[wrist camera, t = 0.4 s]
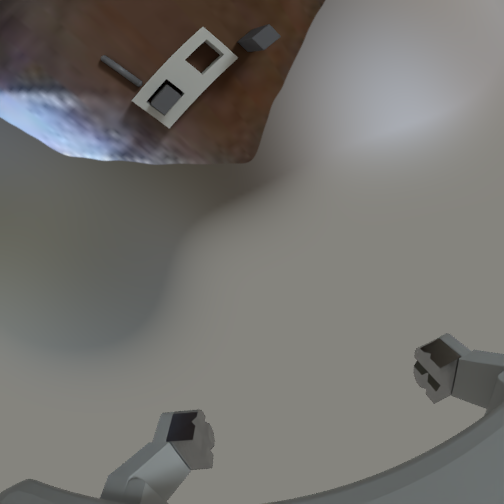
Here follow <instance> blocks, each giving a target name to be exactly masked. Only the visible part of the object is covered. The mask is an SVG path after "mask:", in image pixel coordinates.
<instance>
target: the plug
mask: <svg viewBox="0 0 504 504" xmlns="http://www.w3.org/2000/svg"><path fill="white" fill-rule="evenodd" d="M279 37H281V36H280V35H279V34H278V33H277V32H276V31H275V30H274V29H273V28H272V27H271V26H270V25H269V24H268V25H265V26H262V27H259V28H256V29H252V30H251V31H250V32H248V33H247V34H246V35H245V36H244V37H243V38H241V39H240V40H239V41H238V43H239V44H240V45H241V46H242V47H243V48H244V49H245V50H246V51H247V52H252V51H261V50H265V49H266V48H267V47H268V46H270V45H271V44H272V43H273V42H274V41H276V40H277V39H278V38H279Z"/></svg>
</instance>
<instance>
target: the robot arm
mask: <svg viewBox="0 0 504 504" xmlns="http://www.w3.org/2000/svg"><path fill="white" fill-rule="evenodd" d="M415 358H416V359H417V362H416V364H415V365H414V376H415V379H416V381H417V383H418V385H419V386H420V387H422V388H425V389H426V395H427V396H428V397H429V398H430V400H431V401H432V402H433V403H434V404H435V403H436V402H438V401H440V400H442V399H444V398H446V397H448V396H450V395H452V396H454V397H457V398H459V399H462V400H464V401H467V402H470V403H472V404H475V405H478V406H481V407H483V408H486V409H487V410H486V413H485V415H484V417H482V418H481V419H479V420H478V421H477V422H475V423H474V424H472V425H471V426H469V427H468V428H466V429H465V430H463V431H461V432H460V433H458V434H457V435H455V436H453V437H452V438H450V439H449V440H447V441H445V442H443V443H442V444H440V445H438V446H436V447H434V448H432V449H431V450H429V451H427V452H425V453H423V454H421V455H419V456H417V457H415V458H413V459H411V460H409V461H407V462H404V463H402V464H400V465H398V466H396V467H393V468H391V469H389V470H386V471H384V472H381V473H379V474H376V475H374V476H371V477H368V478H365V479H363V480H360V481H357V482H354V483H351V484H348V485H345V486H341V487H338V488H335V489H331V490H328V491H324V492H320V493H316V494H312V495H308V496H303V497H299V498H294V499H289V500H284V501H278V502H271V503H264V504H504V354H498V353H492V352H485V351H478V350H473V351H470V350H469V349H468V348H467V347H465V346H464V345H463V344H462V343H460V342H459V341H458V340H457V339H455V338H454V337H453V336H452V335H450V334H447V333H446V334H445V335H442V336H441V337H439V338H437V339H435V340H433V341H431V342H429V343H427V344H425V345H423V346H420V347H418V348H416V350H415ZM214 441H215V440H214V433H213V430H212V428H211V426H210V424H209V423H207V422H205V415H204V413H203V412H202V410H190V411H178V412H167V413H162V414H161V416H160V419H159V422H158V425H157V429H156V432H155V435H154V438H153V441H152V443H148V444H147V445H145V447H143V448H142V449H141V450H139V451H138V452H137V453H136V454H135V455H133V456H132V457H131V458H130V459H129V460H127V461H126V462H125V463H124V464H122V465H121V466H120V467H119V468H117V469H116V470H115V471H114V472H112V473H111V474H110V475H109V476H108V478H107V481H106V484H105V486H104V489H103V492H102V494H101V497H100V499H98V498H94V497H90V496H85V495H82V494H78V493H74V492H70V491H67V490H63V489H60V488H57V487H54V486H50V485H48V484H45V483H42V482H39V481H37V480H33V479H26V480H24V481H22V482H19V483H17V484H15V485H14V486H12V487H10V488H8V489H6V490H4V491H3V492H1V493H0V504H168V503H167V502H166V501H167V500H168V499H169V498H170V496H171V495H172V494H173V493H174V492H175V490H176V489H177V488H178V487H179V485H180V484H181V483H182V482H183V480H184V479H185V478H186V477H187V475H188V474H189V473H190V471H191V470H197V469H208V468H212V466H213V453H212V452H211V449H212V448H213V447H214Z"/></svg>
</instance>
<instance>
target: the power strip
mask: <svg viewBox="0 0 504 504" xmlns="http://www.w3.org/2000/svg"><path fill="white" fill-rule="evenodd" d="M203 42H205V43H207V44H208V45H209V46H210V47H211V48H212V49H214V50H215V51H216V52H217V53H218V54H219V55H220V56H219V57H218V58H217V59H216V60H215V61H213V62H212V63H211V64H210V65H209V66H208V67H207V68H206V69H205V70H204V71H203V72H202V73H200V72H199V71H198V70H196V69H195V68H194V67H193V66H192V65H190V64H189V63H188V62H187V61H185V59H186V58H187V57H188V56H189V55H190V54H191V53H192V52H194V51H195V50H196V49H197V48H198V47H199V46H200V45H201V44H202V43H203ZM237 59H238V57H237V56H236V55H235V54H233V53H232V52H231V51H230V50H229V49H228V48H227V47H226V46H225V45H224V44H222V43H221V42H220V41H219V40H218V39H217V38H216V37H214V36H213V35H212V34H211V33H210V32H209V31H207V30H206V29H205V28H204V27H202V28H201V29H200V30H199V31H197V32H196V33H195V34H194V35H193V36H192V37H191V38H190V39H189V40H188V41H187V42H185V43H184V44H183V45H182V46H181V47H180V48H179V49H178V50H177V51H176V52H175V53H174V54H173V55H172V56H171V57H170V58H169V59H168V60H167V61H166V62H165V63H164V64H163V66H162V67H161V68H160V69H159V70H158V71H157V72H156V73H155V74H154V75H153V76H152V78H151V79H150V80H149V81H148V82H147V83H146V84H145V85H144V87H143V88H142V89H141V90H140V91H139V93H138V94H137V95H136V96H135V97H134V99H133V100H132V101H133V102H134V103H135V104H137V105H138V106H139V107H141V108H142V109H144V110H145V111H146V112H148V113H149V114H150V115H152V116H153V117H154V118H156V119H157V120H158V121H160V122H161V123H162V124H164V125H165V126H166V127H168V128H170V127H171V126H172V125H173V124H174V123H175V122H176V120H177V119H178V118H179V117H180V116H181V115H182V114H183V113H184V111H185V110H186V109H187V108H188V107H189V106H190V105H191V104H192V103H193V102H194V101H195V100H196V99H197V98H198V97H199V95H200V94H201V93H202V92H203V91H204V90H205V89H206V88H207V87H208V86H209V85H210V84H211V83H212V82H213V81H214V80H215V79H216V78H217V77H218V76H219V75H220V74H222V73H223V72H224V71H225V70H226V69H227V68H228V67H229V66H230V65H231V64H232V63H233V62H234V61H235V60H237ZM101 61H102V62H104V63H105V64H107V65H108V66H110V67H111V68H112V69H114V70H115V71H117V72H118V73H120V74H121V75H122V76H124V77H125V78H127V79H128V80H129V81H131V82H132V83H134V84H135V85H136V86H138V87H139V86H141V85H142V81H141V80H139V79H138V78H136V77H135V76H134V75H132V74H131V73H130V72H128V71H127V70H125V69H124V68H123V67H121V66H120V65H118V64H117V63H116V62H114V61H113V60H111V59H110V58H108V57H107V56H105V55H104V56H102V57H101ZM166 79H167V80H169V81H170V82H171V83H172V84H174V85H175V86H176V87H177V88H179V89H180V90H181V91H182V92H183V93H182V94H181V95H180V94H179V93H178V92H177V91H175V90H174V89H173V88H172V87H170V86H169V85H168V84H165V85H164V86H163V87H162V89H161V90H160V91H159V92H158V93H157V94H156V95H155V96H154V98H153V99H152V102H151V103H150V102H148V101H147V100H148V99H149V98H150V97H151V96H152V95H153V93H154V92H155V91H156V90H157V89H158V88H159V87H160V86H161V84H162V83H163V82H164V81H165V80H166Z"/></svg>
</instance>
